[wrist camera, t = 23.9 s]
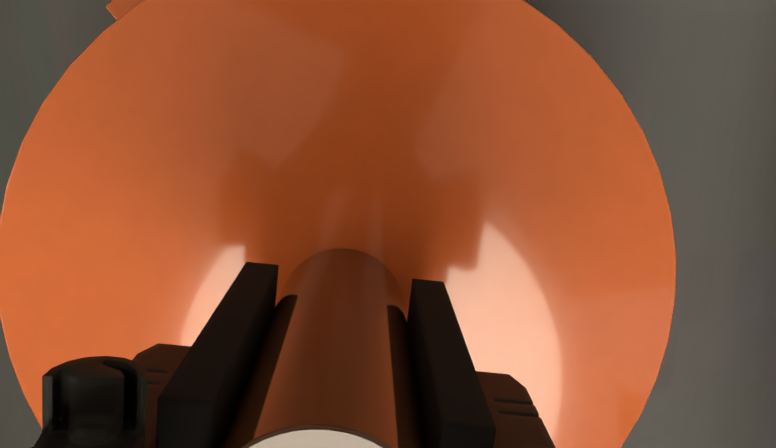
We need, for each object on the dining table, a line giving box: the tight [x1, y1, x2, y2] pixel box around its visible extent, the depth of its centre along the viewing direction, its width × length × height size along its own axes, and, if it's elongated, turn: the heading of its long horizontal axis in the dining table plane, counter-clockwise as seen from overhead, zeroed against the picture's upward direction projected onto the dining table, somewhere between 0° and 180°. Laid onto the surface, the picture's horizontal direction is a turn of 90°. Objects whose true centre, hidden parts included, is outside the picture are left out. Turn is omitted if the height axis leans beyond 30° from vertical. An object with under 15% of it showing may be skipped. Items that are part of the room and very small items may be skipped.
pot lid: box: [0, 0, 676, 448], centre depth 13 cm, size 18×18×10 cm
